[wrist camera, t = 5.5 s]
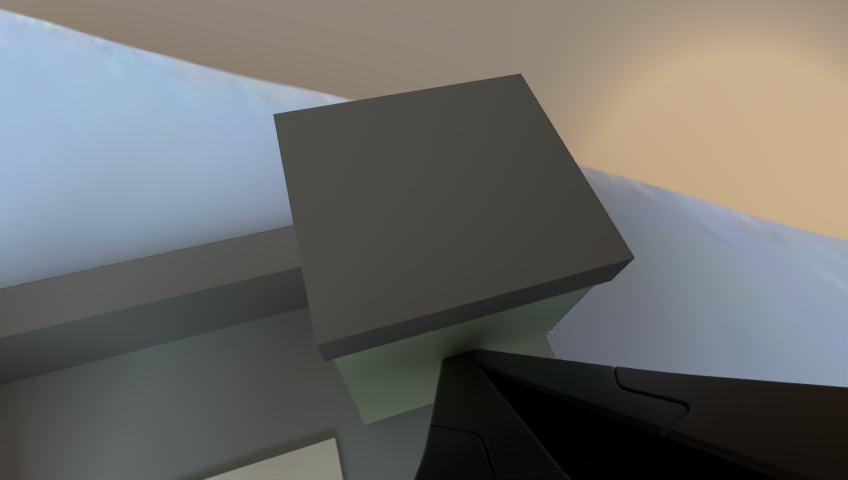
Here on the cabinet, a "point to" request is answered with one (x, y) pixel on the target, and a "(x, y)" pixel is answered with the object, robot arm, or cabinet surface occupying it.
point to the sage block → (438, 232)
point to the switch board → (187, 375)
